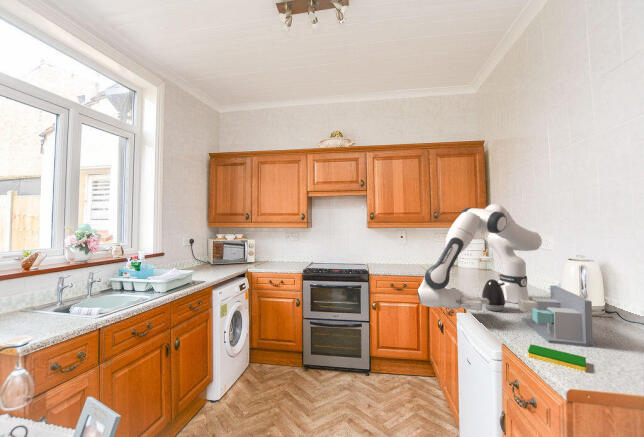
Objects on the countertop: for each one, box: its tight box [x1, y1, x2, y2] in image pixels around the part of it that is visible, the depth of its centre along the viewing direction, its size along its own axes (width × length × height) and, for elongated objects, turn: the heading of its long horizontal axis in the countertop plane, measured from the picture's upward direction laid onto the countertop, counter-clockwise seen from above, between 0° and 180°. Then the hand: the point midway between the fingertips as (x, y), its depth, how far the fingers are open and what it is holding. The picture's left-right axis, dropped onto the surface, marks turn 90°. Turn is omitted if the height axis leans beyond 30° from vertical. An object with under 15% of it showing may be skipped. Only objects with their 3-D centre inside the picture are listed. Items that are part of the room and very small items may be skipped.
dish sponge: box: [527, 344, 587, 372], centre depth 88 cm, size 7×14×2 cm, turn 46°
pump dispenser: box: [481, 279, 506, 312], centre depth 137 cm, size 10×10×15 cm
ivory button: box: [517, 299, 537, 313], centre depth 117 cm, size 8×4×4 cm, turn 73°
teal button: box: [531, 308, 554, 324], centre depth 104 cm, size 8×4×4 cm, turn 73°
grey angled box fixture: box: [521, 285, 597, 348], centre depth 109 cm, size 14×24×16 cm, turn 163°
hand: (488, 301), depth 122 cm, fingers closed
